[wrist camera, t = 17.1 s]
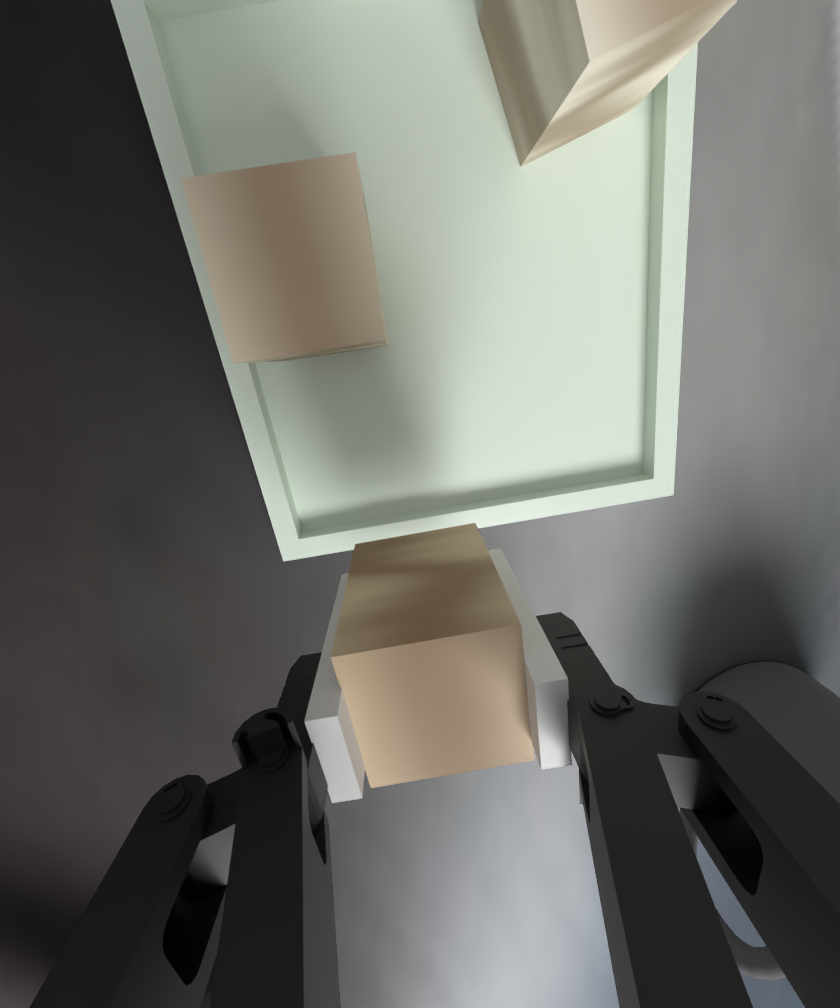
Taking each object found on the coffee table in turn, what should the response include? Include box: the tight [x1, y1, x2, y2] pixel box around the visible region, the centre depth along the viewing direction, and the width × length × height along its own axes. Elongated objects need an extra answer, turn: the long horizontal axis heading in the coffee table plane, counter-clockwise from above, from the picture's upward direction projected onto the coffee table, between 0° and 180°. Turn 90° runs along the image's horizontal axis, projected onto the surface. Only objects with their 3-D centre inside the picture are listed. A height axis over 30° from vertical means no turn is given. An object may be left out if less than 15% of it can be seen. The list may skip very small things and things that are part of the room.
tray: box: [111, 0, 698, 561], centre depth 17 cm, size 19×21×2 cm
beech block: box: [181, 152, 389, 363], centre depth 14 cm, size 4×4×6 cm
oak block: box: [330, 523, 534, 788], centre depth 13 cm, size 4×4×6 cm
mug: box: [679, 661, 840, 980], centre depth 22 cm, size 14×9×12 cm
